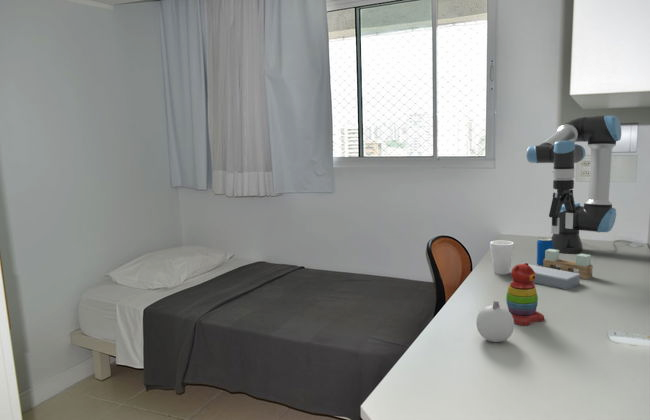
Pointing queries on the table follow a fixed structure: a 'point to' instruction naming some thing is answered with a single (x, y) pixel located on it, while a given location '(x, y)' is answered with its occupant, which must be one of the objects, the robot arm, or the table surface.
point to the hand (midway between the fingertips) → (562, 231)
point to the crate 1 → (552, 254)
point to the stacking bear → (523, 296)
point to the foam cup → (501, 256)
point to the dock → (555, 277)
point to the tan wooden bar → (569, 267)
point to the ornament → (495, 323)
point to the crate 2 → (583, 260)
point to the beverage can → (543, 249)
